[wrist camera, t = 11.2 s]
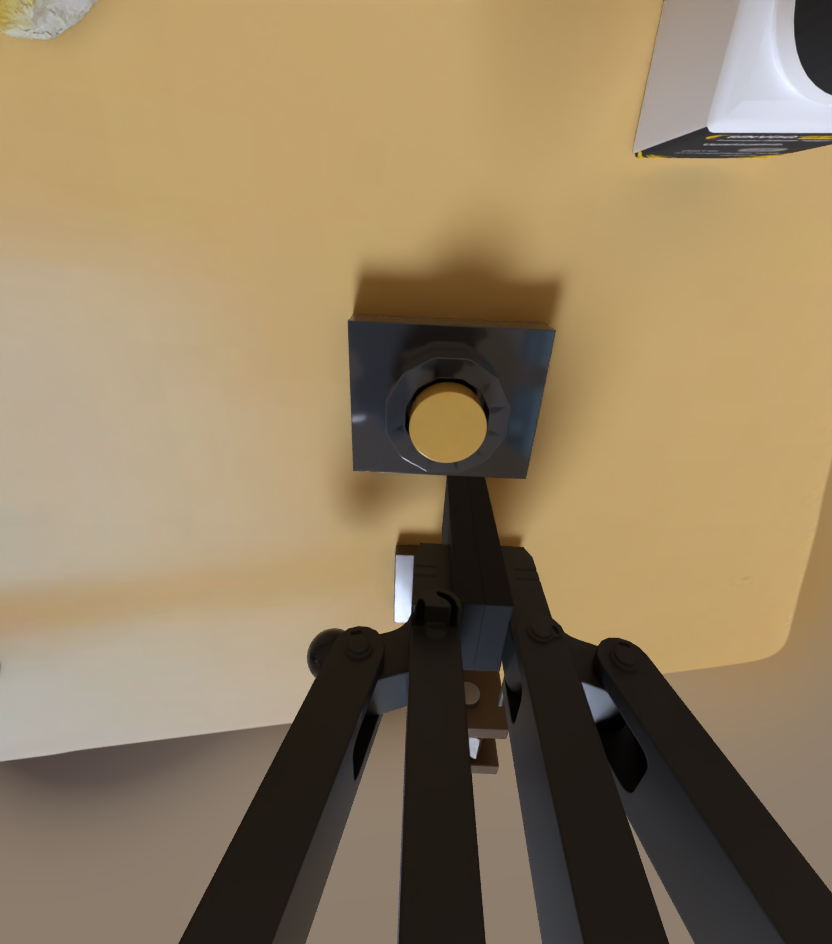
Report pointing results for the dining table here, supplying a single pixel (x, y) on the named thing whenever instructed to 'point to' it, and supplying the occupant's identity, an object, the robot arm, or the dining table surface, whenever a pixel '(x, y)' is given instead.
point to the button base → (445, 360)
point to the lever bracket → (478, 684)
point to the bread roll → (41, 17)
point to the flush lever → (319, 653)
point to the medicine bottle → (738, 80)
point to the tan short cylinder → (447, 422)
